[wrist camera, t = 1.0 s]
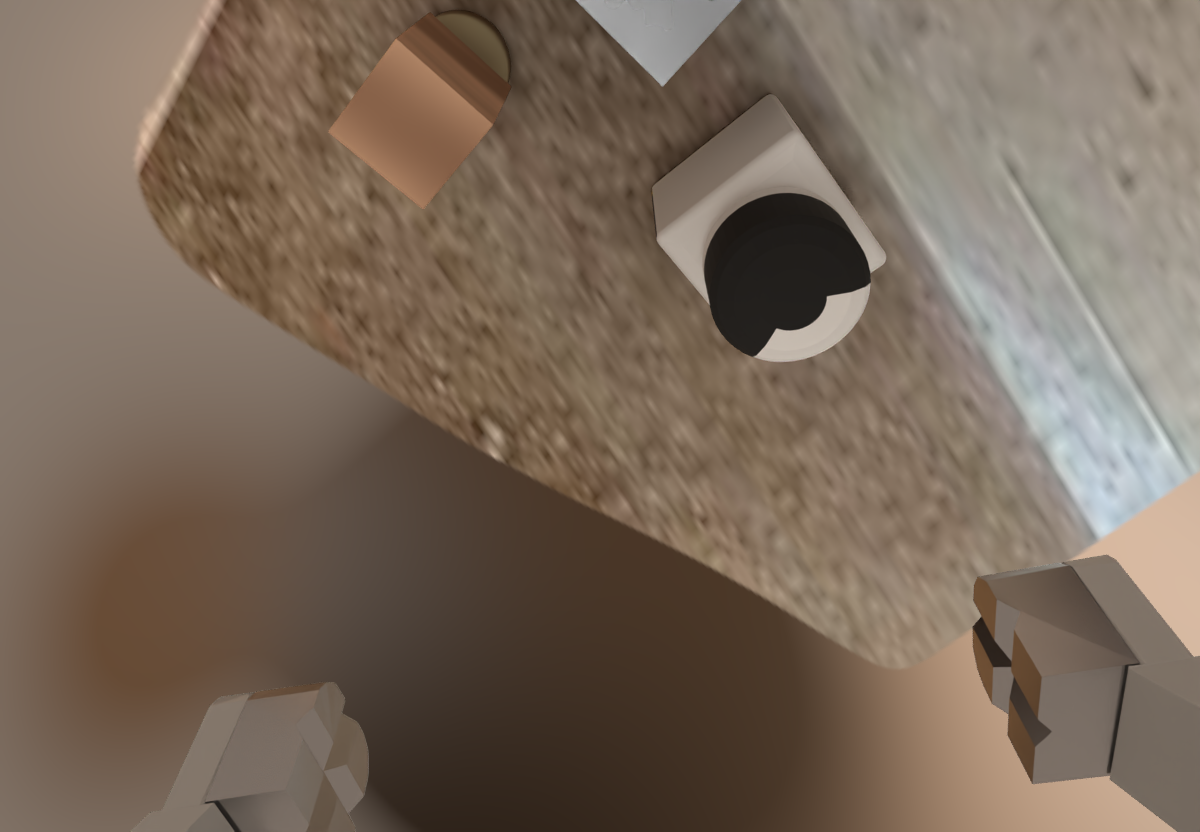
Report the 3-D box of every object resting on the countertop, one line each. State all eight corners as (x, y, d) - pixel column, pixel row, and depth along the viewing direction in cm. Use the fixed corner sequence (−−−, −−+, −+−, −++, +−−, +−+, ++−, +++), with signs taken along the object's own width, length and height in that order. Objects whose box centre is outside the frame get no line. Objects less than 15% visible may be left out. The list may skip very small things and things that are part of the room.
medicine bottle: (648, 186, 42) (657, 288, 32) (771, 88, 39) (824, 164, 29) (733, 291, 45) (766, 415, 35) (852, 206, 42) (927, 312, 32)
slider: (452, -14, 37) (394, 28, 28) (530, 60, 39) (501, 124, 29) (394, 66, 39) (319, 132, 29) (470, 133, 41) (424, 217, 31)
